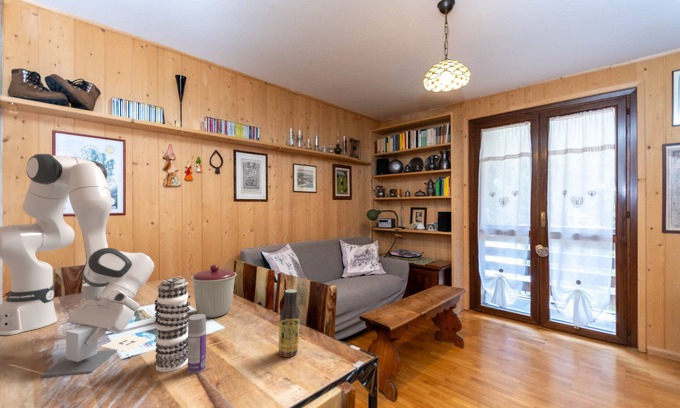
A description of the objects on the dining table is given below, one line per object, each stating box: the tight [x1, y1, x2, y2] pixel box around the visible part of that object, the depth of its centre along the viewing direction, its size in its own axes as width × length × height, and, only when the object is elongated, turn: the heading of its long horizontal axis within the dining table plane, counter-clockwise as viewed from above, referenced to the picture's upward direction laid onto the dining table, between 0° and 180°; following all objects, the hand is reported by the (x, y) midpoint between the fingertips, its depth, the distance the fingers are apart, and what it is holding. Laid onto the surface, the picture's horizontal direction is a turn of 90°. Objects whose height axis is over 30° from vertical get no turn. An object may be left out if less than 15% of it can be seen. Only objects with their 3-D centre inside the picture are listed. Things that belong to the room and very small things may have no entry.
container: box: [187, 313, 207, 375], centre depth 83 cm, size 5×5×15 cm
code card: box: [101, 334, 153, 353], centre depth 98 cm, size 12×9×1 cm
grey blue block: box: [65, 325, 98, 362], centre depth 86 cm, size 5×5×8 cm
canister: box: [190, 264, 237, 319], centre depth 126 cm, size 18×18×21 cm
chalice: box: [82, 282, 106, 301], centre depth 107 cm, size 7×7×18 cm
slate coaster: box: [40, 349, 118, 379], centre depth 86 cm, size 12×12×1 cm
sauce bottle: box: [278, 288, 300, 358], centre depth 93 cm, size 7×6×20 cm
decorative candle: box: [154, 276, 191, 373], centre depth 86 cm, size 9×9×25 cm
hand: (79, 343), depth 85 cm, fingers closed on grey blue block, 5 cm apart
